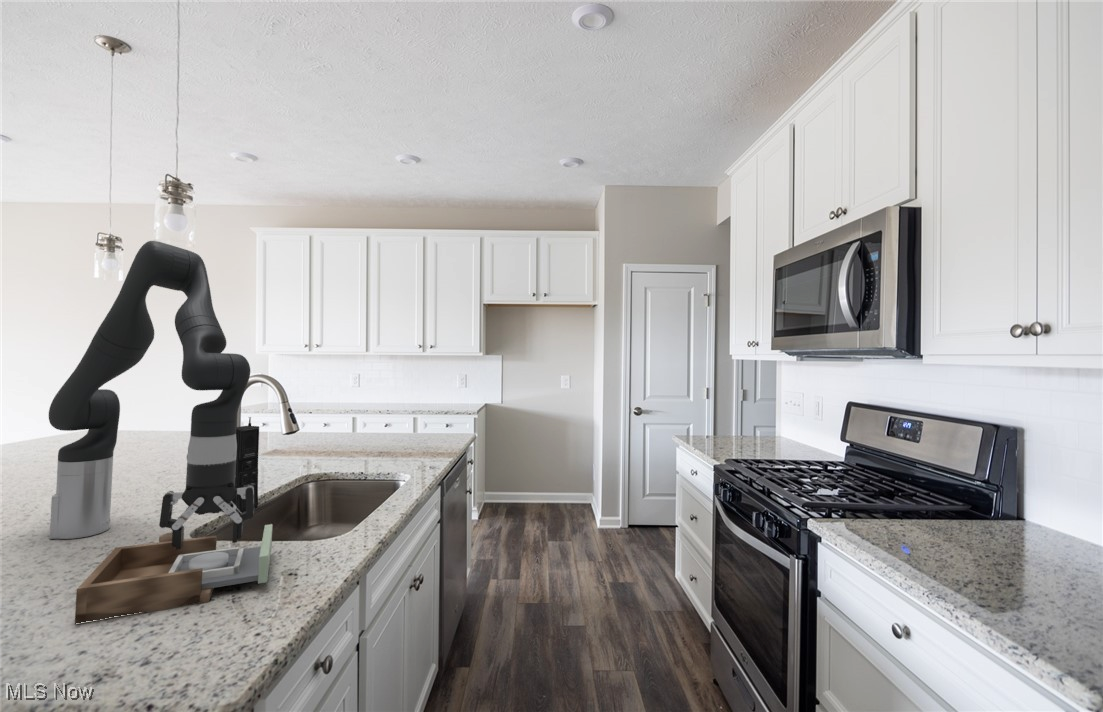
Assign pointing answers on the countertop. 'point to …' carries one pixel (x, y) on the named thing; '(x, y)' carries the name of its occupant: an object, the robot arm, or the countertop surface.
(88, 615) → the wooden drawer box
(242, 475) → the portable radio
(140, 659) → the countertop surface
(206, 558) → the disc
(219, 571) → the tray
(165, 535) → the stand
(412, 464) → the countertop surface
